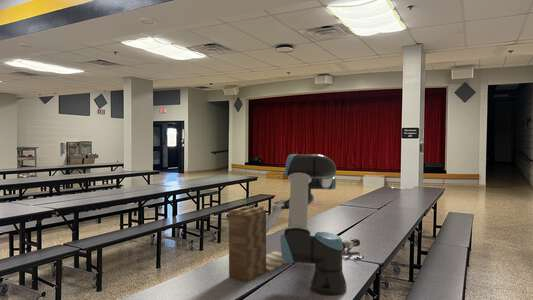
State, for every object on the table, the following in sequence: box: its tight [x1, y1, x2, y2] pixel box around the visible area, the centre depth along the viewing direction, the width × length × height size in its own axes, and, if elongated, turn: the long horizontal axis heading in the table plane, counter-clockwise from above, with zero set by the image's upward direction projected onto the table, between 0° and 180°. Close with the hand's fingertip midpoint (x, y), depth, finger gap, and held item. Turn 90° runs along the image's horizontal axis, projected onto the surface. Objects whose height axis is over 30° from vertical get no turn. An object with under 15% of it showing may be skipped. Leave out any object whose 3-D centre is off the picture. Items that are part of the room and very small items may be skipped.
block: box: [266, 199, 286, 234], centre depth 191 cm, size 24×3×3 cm
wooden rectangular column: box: [228, 204, 267, 283], centre depth 173 cm, size 16×10×32 cm, turn 146°
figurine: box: [342, 238, 361, 255], centre depth 205 cm, size 23×7×30 cm
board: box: [266, 250, 288, 272], centre depth 192 cm, size 26×14×1 cm, turn 146°
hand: (274, 208), depth 192 cm, fingers closed on block, 3 cm apart
